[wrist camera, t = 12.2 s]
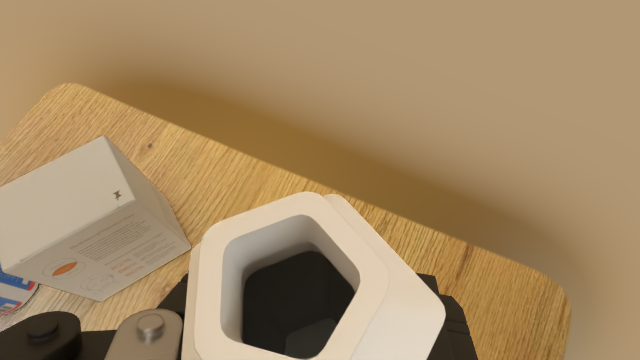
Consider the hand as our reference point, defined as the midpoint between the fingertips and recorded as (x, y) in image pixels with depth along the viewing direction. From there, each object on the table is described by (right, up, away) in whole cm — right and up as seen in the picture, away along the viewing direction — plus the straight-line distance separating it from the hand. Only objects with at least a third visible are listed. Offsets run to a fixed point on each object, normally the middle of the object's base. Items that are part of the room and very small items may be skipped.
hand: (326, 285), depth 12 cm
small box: (-15, -3, +21) cm, 26 cm away
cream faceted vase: (0, -5, +6) cm, 8 cm away
